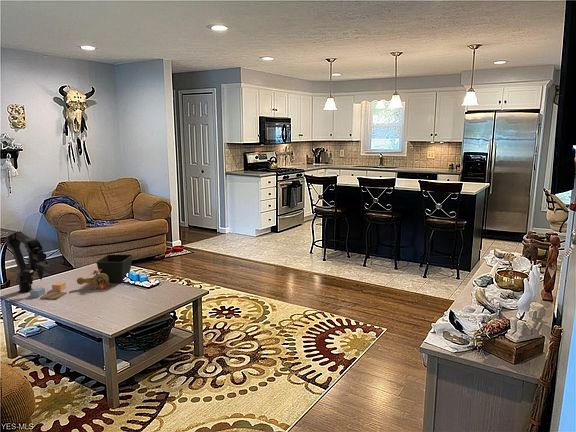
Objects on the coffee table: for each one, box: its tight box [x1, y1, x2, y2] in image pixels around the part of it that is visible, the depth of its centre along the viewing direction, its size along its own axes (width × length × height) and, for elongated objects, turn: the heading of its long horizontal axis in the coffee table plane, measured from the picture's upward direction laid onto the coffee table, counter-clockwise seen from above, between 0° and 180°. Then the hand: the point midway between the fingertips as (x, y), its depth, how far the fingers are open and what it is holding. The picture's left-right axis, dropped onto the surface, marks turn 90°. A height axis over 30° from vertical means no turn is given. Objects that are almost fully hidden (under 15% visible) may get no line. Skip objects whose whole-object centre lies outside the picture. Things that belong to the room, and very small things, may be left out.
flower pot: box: [95, 254, 133, 284], centre depth 312 cm, size 19×19×17 cm
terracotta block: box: [51, 281, 67, 292], centre depth 294 cm, size 6×6×4 cm
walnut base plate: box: [39, 291, 67, 301], centre depth 282 cm, size 11×11×1 cm
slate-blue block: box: [29, 287, 46, 298], centre depth 283 cm, size 6×6×4 cm
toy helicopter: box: [76, 269, 110, 291], centre depth 295 cm, size 8×21×14 cm, turn 97°
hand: (36, 281), depth 281 cm, fingers open, 9 cm apart
